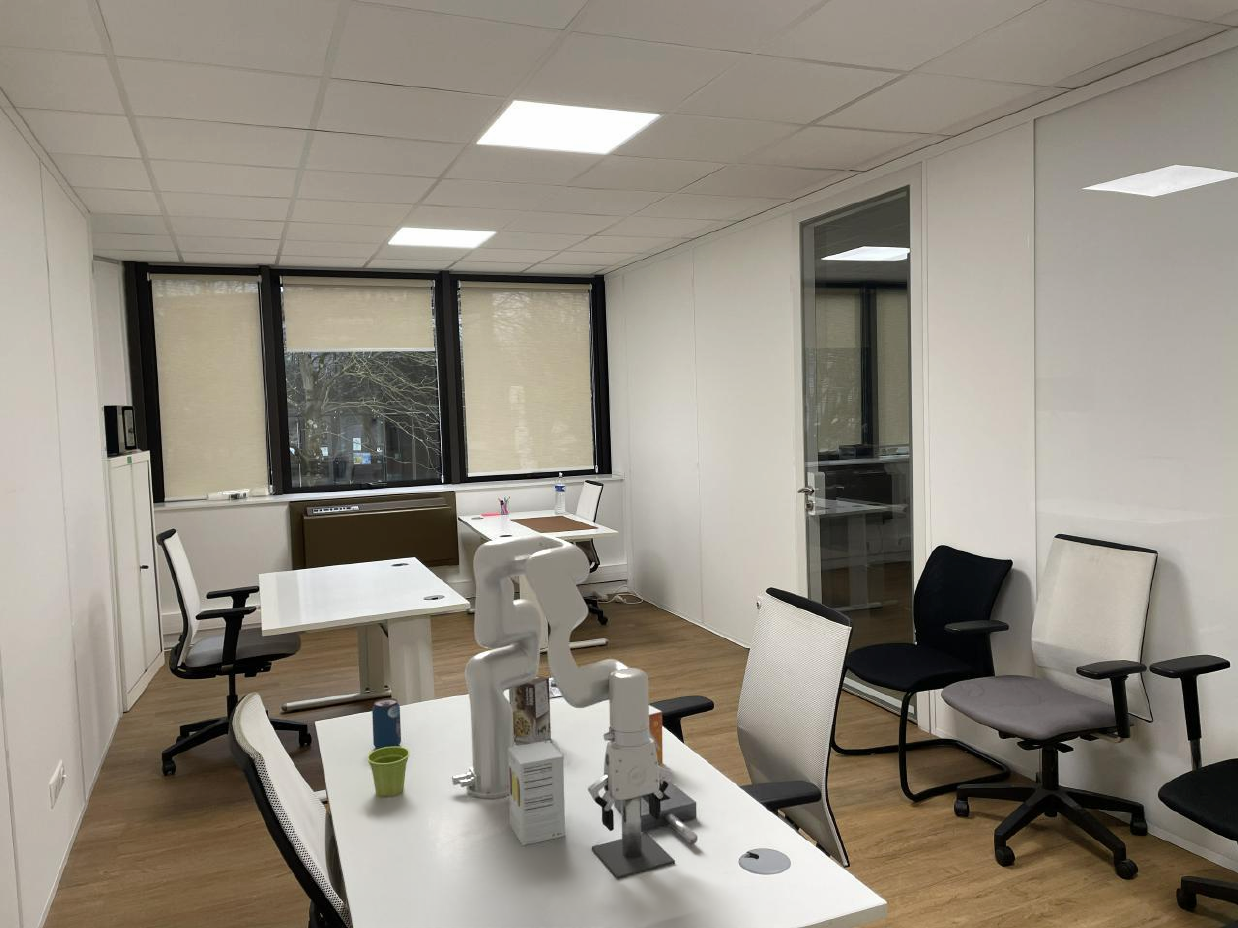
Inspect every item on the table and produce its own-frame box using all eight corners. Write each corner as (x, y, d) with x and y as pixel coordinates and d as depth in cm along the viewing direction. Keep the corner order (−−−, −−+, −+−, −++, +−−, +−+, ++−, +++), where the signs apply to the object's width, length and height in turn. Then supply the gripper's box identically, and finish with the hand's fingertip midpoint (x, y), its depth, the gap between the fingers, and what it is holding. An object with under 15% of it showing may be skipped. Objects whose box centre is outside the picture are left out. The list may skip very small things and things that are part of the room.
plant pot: (419, 790, 194) (417, 753, 194) (382, 804, 188) (381, 766, 187) (396, 778, 201) (395, 743, 200) (360, 792, 194) (359, 755, 193)
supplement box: (509, 825, 177) (506, 746, 176) (551, 816, 181) (549, 738, 180) (522, 846, 168) (520, 763, 167) (566, 836, 172) (564, 755, 171)
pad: (617, 879, 155) (617, 876, 155) (591, 849, 166) (591, 846, 166) (674, 863, 160) (674, 860, 160) (646, 835, 171) (646, 832, 171)
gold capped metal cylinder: (617, 850, 164) (616, 784, 163) (637, 845, 166) (635, 780, 165) (627, 861, 161) (625, 793, 160) (646, 855, 162) (645, 788, 161)
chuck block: (663, 855, 163) (663, 837, 163) (614, 806, 184) (614, 790, 184) (721, 839, 169) (721, 822, 169) (667, 793, 190) (667, 778, 190)
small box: (636, 771, 202) (635, 718, 201) (621, 762, 207) (620, 710, 206) (663, 763, 206) (662, 710, 205) (648, 754, 212) (647, 703, 211)
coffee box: (552, 737, 224) (550, 677, 223) (537, 745, 219) (535, 684, 218) (524, 731, 229) (523, 672, 228) (509, 739, 224) (507, 679, 223)
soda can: (405, 748, 219) (403, 702, 219) (378, 754, 216) (376, 708, 215) (395, 739, 225) (394, 695, 224) (370, 746, 221) (368, 700, 221)
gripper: (595, 750, 155) (598, 841, 156) (679, 733, 162) (680, 820, 163) (580, 736, 162) (582, 823, 163) (660, 720, 169) (662, 804, 170)
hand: (631, 821), depth 163 cm, fingers open, 9 cm apart
